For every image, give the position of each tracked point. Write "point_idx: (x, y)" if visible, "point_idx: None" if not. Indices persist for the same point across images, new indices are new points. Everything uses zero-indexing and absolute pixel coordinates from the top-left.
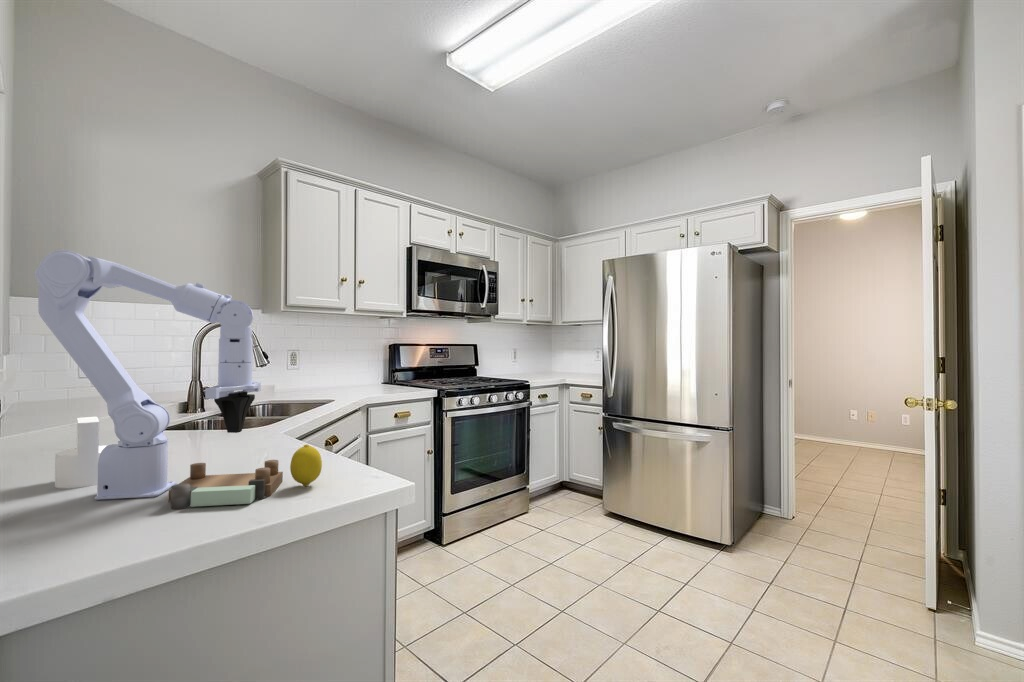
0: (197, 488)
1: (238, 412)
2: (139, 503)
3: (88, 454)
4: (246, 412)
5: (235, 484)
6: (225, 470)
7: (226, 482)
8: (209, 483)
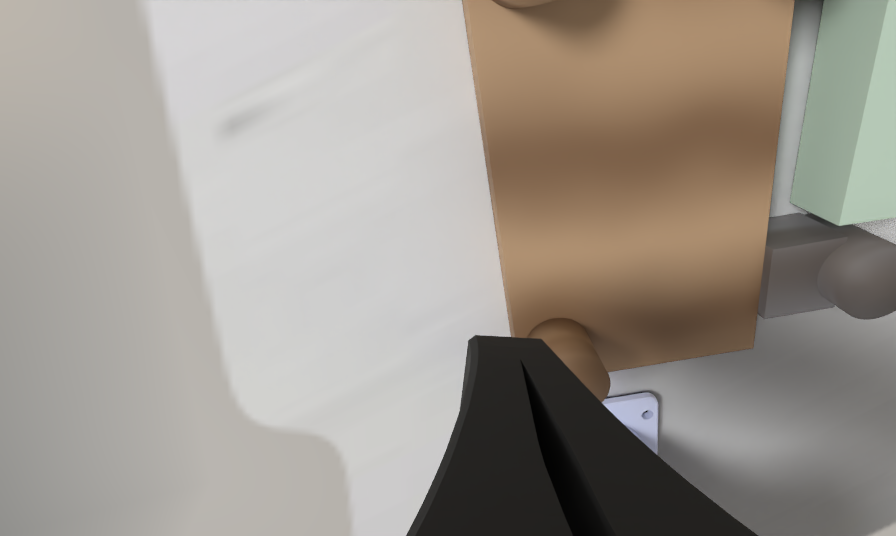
0: (856, 217)
1: (725, 517)
2: (711, 400)
3: None
4: (475, 476)
5: (736, 88)
6: (237, 358)
7: (676, 163)
8: (680, 239)
